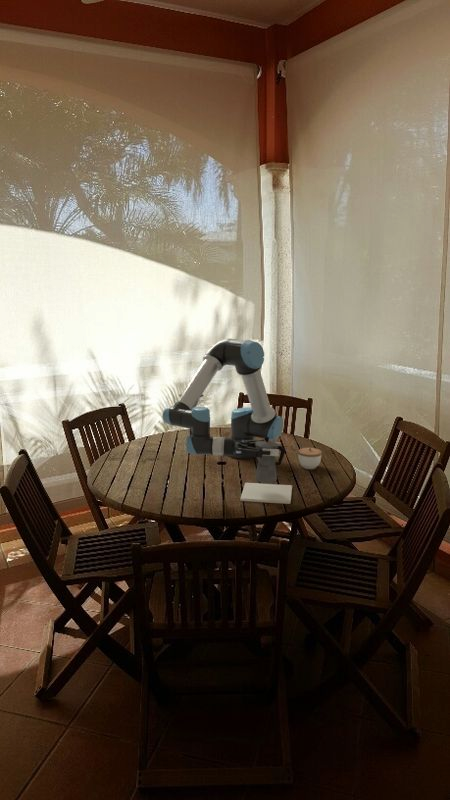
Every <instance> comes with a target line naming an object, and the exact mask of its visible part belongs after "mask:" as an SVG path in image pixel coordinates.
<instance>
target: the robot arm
mask: <svg viewBox="0 0 450 800" xmlns="http://www.w3.org/2000/svg"><path fill="white" fill-rule="evenodd" d="M264 362H265V350H264V348H263V346H262V345H261V343H259V342H258V341H254V340H250V339H246V340H245V339H237V338H235V339H234V338H225V339H224V338H223V339H221V340H219V341H218V342H216V343H215V344H213V345H212V346H211V347H210V348H209V349H208V350H207V351H206V353H205V354H204V356H203V357H202V363H201V364H200V366H199V367H198V369H197V370H196V372H195V374H194V375H193V377H191V379H190V380H189V382H188V384H187V386H186V387H185V388H184V389H183V391H182V393H180V394H181V396H179V397H178V398H177V400H176V402H175V403H174V405H173V406H167V407H166V408H165V409H164V410H163V412H162V420H163V422H164V423H165V424H167V425H170V426H174V427H175V426H176V427H180V428H183V429H184V428H185V429H189V430H190V429H191V430H192V435H191V436H190V435H188V436H187V437H186V441H185V451H186V453H188V454H193V455H204V456H205V455H210V456H216V457H219V456H223V455H224V456H226V457H231V458H235V459H245V460H246V459H253V458H257V457H260V458H262V455H263V456H276V457H280V450H279V449H264V448H263V450H262V449H258V448H256V446H255V444H254V442H255V441H266V440H265V437H269V440H268V441H274V442H275V441H276V440H277V439H278V438H279V437H280V436H281V435H282V433H283V429H284V419H283V417H282V416H280V415H278V416H277V413H276V410H275V409H274V408H273V407H272V406H271V405H270V400H269V397H268V394H267V391H266V387H265V383H264V380H263V376H262V373H261V369H262V367H263V366H262V365H263V364H264ZM227 365H228V366H234V367H235V371H236V373H237V374H238V375H239V376H241V379H242V381H243V382H242V383H243V384H244V388H245V391H246V394H247V397H248V401H249V403H250V407H239V408H235V409H233V410H231V413H230V437H224V436H211V433H210V432H211V414H210V413H211V412H210V411H211V410H210V409H209V408H208V407H206V406H197V405H196V403H197V402H198V403H199V401H200V399H201V398H202V397H201V396H202V394H203V395H204V392H205V391H206V389H207V388H208V386H209V385H210V383H211V382H212V380H213V379H214V377H215V376H216V374H217V373H218V371H219V372H220V371H221V370H223V367H224V366H227ZM198 400H199V401H198ZM198 403H197V404H198ZM195 405H196V407H194V406H195ZM256 438H259V439H256ZM275 443H277V444H278V445H279V446H281V442H275Z"/></svg>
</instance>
